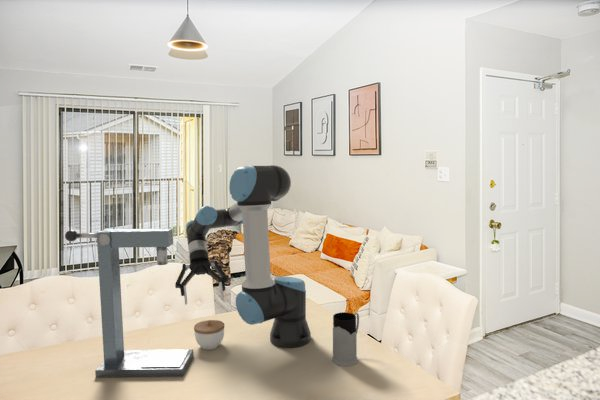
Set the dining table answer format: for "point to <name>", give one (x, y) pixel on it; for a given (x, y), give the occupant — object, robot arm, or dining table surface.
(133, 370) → the arbor press
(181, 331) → the dining table surface
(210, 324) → the lidded jar
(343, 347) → the grey mug
